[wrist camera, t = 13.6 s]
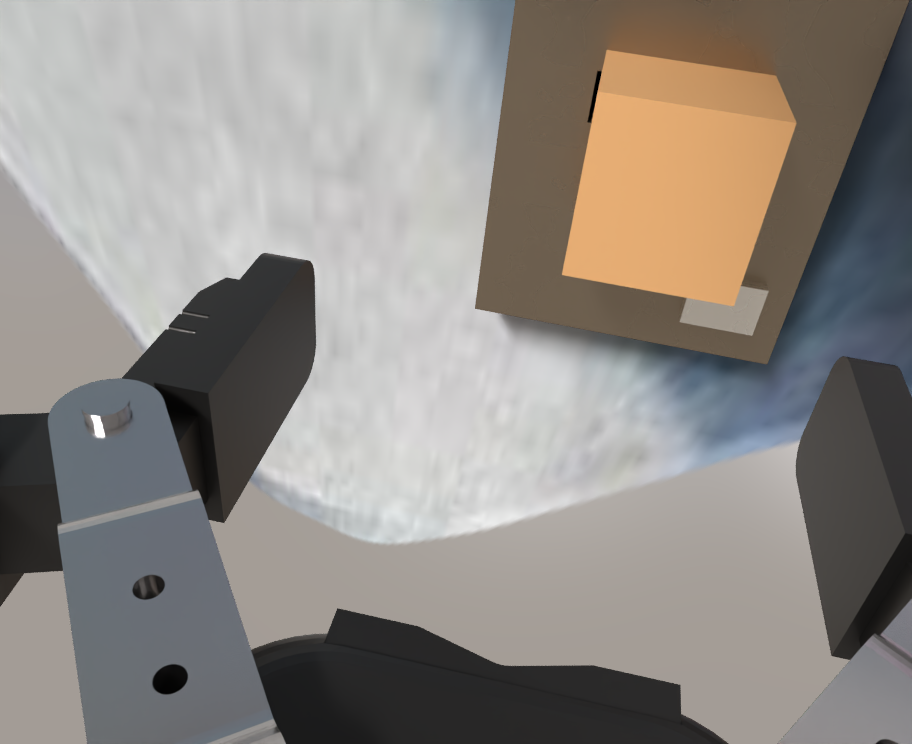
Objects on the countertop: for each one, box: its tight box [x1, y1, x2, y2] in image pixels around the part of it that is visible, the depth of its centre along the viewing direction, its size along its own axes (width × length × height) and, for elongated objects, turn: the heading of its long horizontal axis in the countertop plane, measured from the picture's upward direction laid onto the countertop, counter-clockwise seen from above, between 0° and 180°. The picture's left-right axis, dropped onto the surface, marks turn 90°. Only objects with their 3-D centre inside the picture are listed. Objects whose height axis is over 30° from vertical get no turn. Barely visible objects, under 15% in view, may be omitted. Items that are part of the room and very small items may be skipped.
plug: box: [562, 50, 797, 306], centre depth 28 cm, size 6×6×8 cm
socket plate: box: [475, 0, 909, 364], centre depth 30 cm, size 16×12×4 cm
